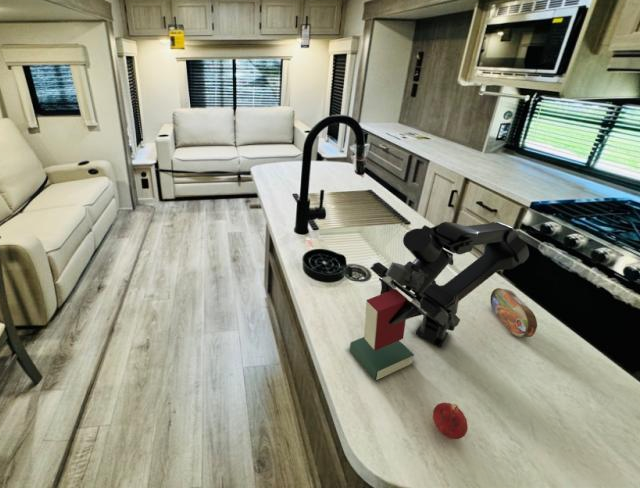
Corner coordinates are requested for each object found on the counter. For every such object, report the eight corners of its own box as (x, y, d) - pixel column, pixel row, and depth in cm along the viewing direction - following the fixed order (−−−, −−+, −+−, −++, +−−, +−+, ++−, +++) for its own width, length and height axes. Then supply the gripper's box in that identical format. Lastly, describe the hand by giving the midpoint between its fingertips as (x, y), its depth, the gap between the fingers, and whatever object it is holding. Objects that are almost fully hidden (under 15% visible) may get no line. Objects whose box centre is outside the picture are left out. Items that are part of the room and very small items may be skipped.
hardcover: (384, 336, 86) (385, 328, 85) (412, 363, 78) (414, 355, 77) (349, 350, 82) (350, 342, 81) (375, 381, 74) (377, 372, 73)
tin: (486, 303, 97) (494, 281, 93) (498, 304, 96) (506, 282, 93) (519, 343, 83) (529, 319, 80) (532, 345, 82) (543, 320, 79)
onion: (463, 454, 60) (473, 428, 57) (428, 437, 63) (437, 411, 60) (461, 426, 64) (471, 400, 61) (429, 412, 67) (437, 386, 64)
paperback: (391, 326, 81) (395, 288, 76) (403, 338, 77) (408, 299, 72) (363, 338, 79) (365, 299, 74) (374, 351, 75) (377, 311, 70)
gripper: (380, 234, 78) (340, 281, 79) (451, 277, 62) (400, 336, 63) (399, 253, 84) (361, 297, 84) (468, 298, 68) (421, 351, 68)
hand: (383, 317), depth 75 cm, fingers closed on paperback, 4 cm apart
